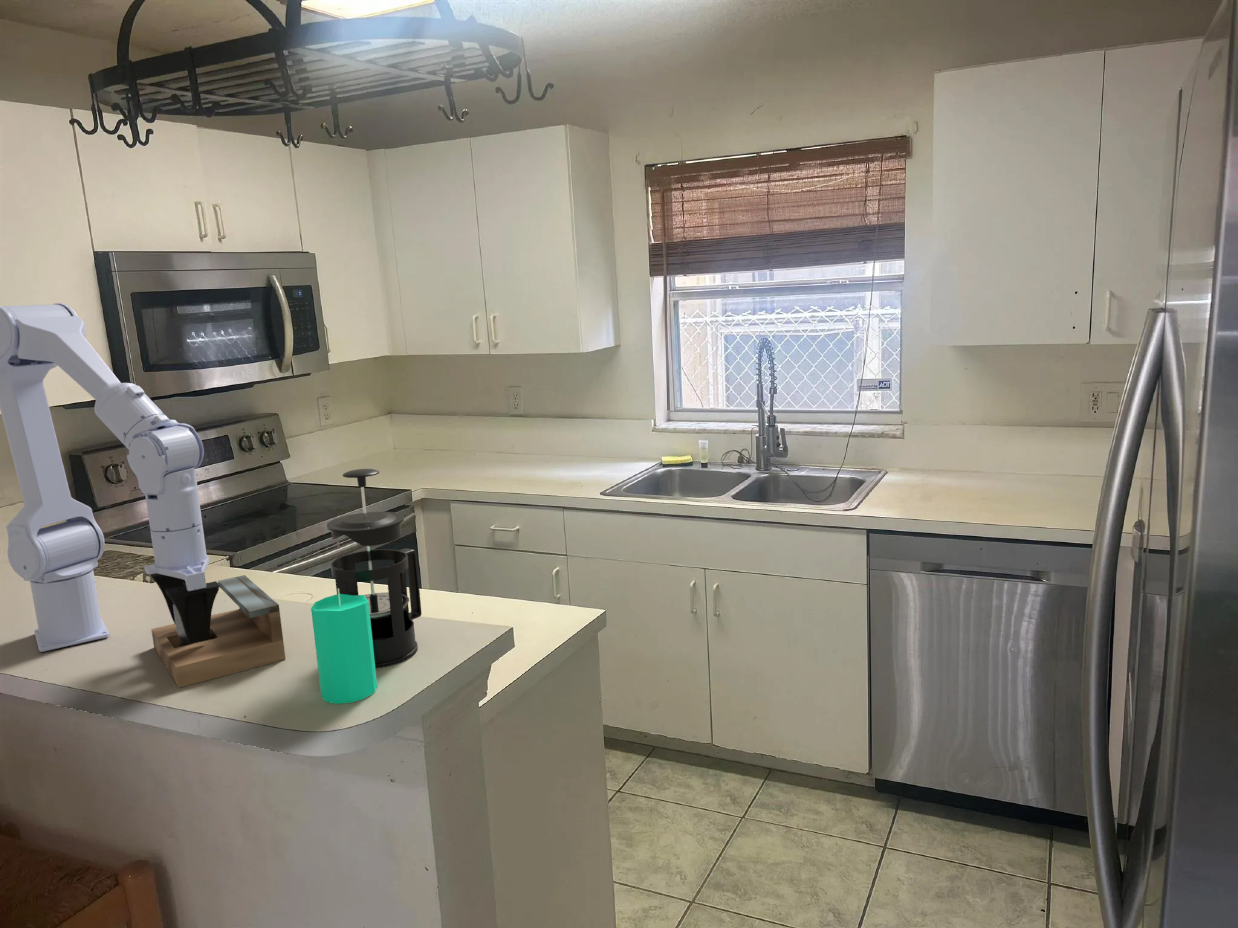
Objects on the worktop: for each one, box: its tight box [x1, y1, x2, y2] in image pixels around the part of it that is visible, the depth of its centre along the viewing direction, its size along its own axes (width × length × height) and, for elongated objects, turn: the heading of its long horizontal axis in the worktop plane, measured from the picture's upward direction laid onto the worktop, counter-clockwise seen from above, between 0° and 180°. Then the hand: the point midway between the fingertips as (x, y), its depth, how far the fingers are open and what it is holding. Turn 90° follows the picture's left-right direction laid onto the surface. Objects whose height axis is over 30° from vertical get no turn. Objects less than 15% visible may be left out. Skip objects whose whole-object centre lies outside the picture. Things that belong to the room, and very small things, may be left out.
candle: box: [310, 589, 378, 705], centre depth 98 cm, size 6×6×12 cm
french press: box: [326, 468, 422, 669], centre depth 108 cm, size 12×9×23 cm
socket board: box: [151, 574, 286, 688], centre depth 112 cm, size 16×12×7 cm
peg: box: [173, 604, 210, 647], centre depth 111 cm, size 4×4×7 cm
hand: (191, 631), depth 111 cm, fingers open, 7 cm apart
